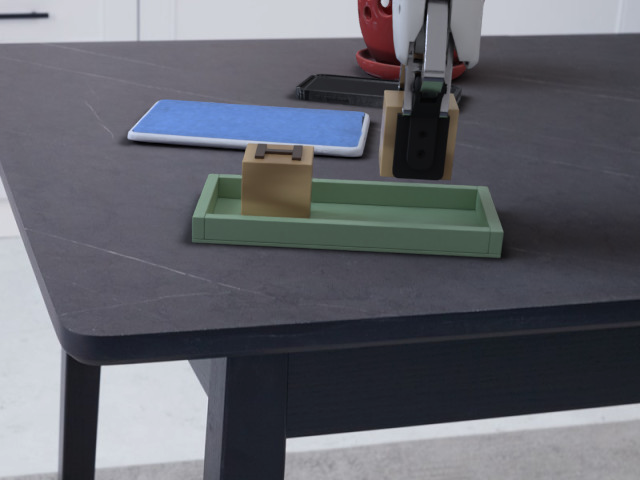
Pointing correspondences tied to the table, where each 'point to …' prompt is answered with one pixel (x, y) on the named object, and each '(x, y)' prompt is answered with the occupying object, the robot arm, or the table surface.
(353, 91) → the dark grey shallow tray
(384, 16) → the flower pot
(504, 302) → the table surface
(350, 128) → the tablet
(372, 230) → the tray
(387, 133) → the wooden letter block
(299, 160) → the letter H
